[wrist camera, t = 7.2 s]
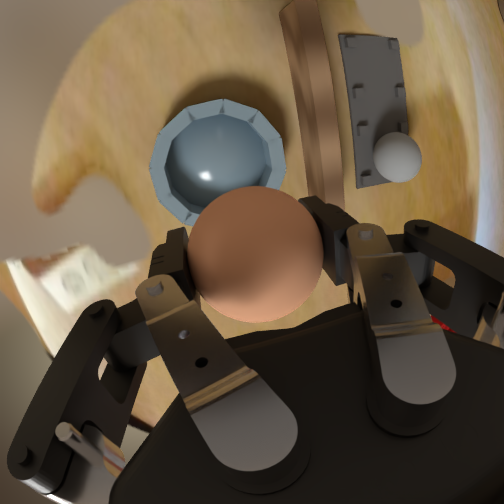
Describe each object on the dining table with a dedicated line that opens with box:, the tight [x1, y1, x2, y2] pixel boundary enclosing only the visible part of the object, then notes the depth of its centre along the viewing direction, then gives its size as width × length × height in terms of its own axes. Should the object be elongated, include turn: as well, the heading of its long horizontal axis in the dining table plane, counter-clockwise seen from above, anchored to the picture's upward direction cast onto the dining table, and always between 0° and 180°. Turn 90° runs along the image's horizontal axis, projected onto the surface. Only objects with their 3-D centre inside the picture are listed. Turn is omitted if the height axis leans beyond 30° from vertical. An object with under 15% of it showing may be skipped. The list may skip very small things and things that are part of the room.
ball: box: [187, 186, 324, 322], centre depth 11 cm, size 5×5×5 cm
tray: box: [338, 35, 409, 189], centre depth 26 cm, size 16×7×1 cm, turn 10°
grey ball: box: [373, 132, 422, 182], centre depth 26 cm, size 5×5×5 cm
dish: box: [149, 99, 286, 226], centre depth 25 cm, size 11×11×3 cm
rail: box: [279, 0, 345, 212], centre depth 24 cm, size 20×2×4 cm, turn 10°
